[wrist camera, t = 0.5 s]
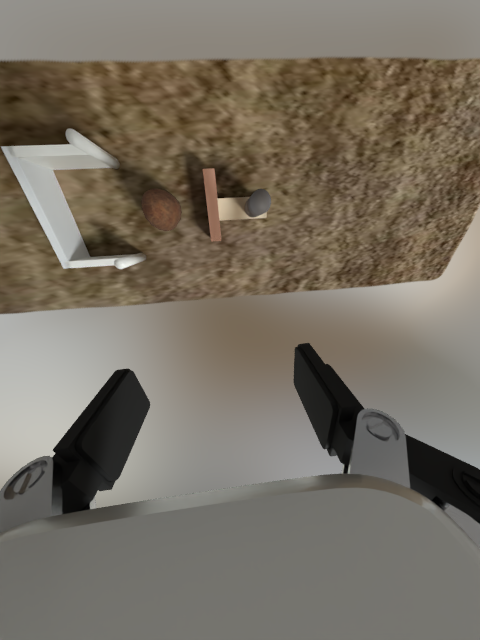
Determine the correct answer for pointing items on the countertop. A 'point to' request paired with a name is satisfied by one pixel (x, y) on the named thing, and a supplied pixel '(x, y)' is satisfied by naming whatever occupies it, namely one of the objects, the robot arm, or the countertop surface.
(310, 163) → the countertop surface
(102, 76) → the countertop surface
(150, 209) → the coconut
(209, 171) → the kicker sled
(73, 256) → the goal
